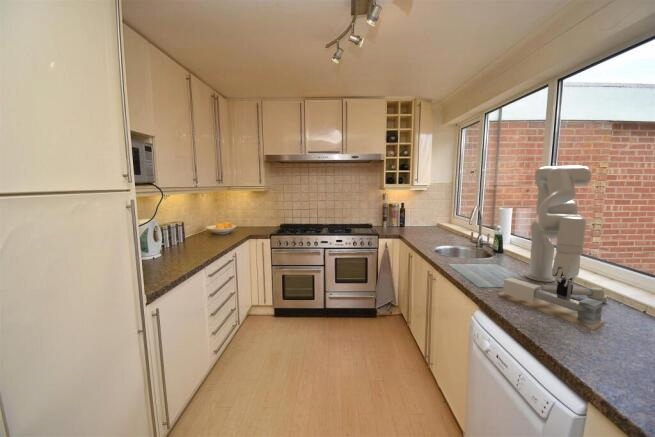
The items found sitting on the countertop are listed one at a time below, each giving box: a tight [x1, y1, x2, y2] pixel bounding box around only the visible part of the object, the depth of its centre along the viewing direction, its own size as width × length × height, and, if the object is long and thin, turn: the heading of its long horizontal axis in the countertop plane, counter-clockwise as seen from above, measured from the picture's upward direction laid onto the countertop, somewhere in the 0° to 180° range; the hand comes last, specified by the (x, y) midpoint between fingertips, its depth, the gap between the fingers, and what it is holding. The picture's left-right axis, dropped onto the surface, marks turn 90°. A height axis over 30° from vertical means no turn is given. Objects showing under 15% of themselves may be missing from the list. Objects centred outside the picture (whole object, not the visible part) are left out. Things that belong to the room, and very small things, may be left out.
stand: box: [497, 291, 605, 331], centre depth 110 cm, size 33×9×8 cm, turn 26°
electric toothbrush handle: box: [537, 283, 608, 304], centre depth 120 cm, size 5×7×25 cm
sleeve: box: [502, 277, 541, 303], centre depth 118 cm, size 12×5×7 cm, turn 27°
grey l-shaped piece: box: [534, 279, 579, 312], centre depth 108 cm, size 21×3×10 cm, turn 27°
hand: (564, 293), depth 104 cm, fingers closed on grey l-shaped piece, 3 cm apart
